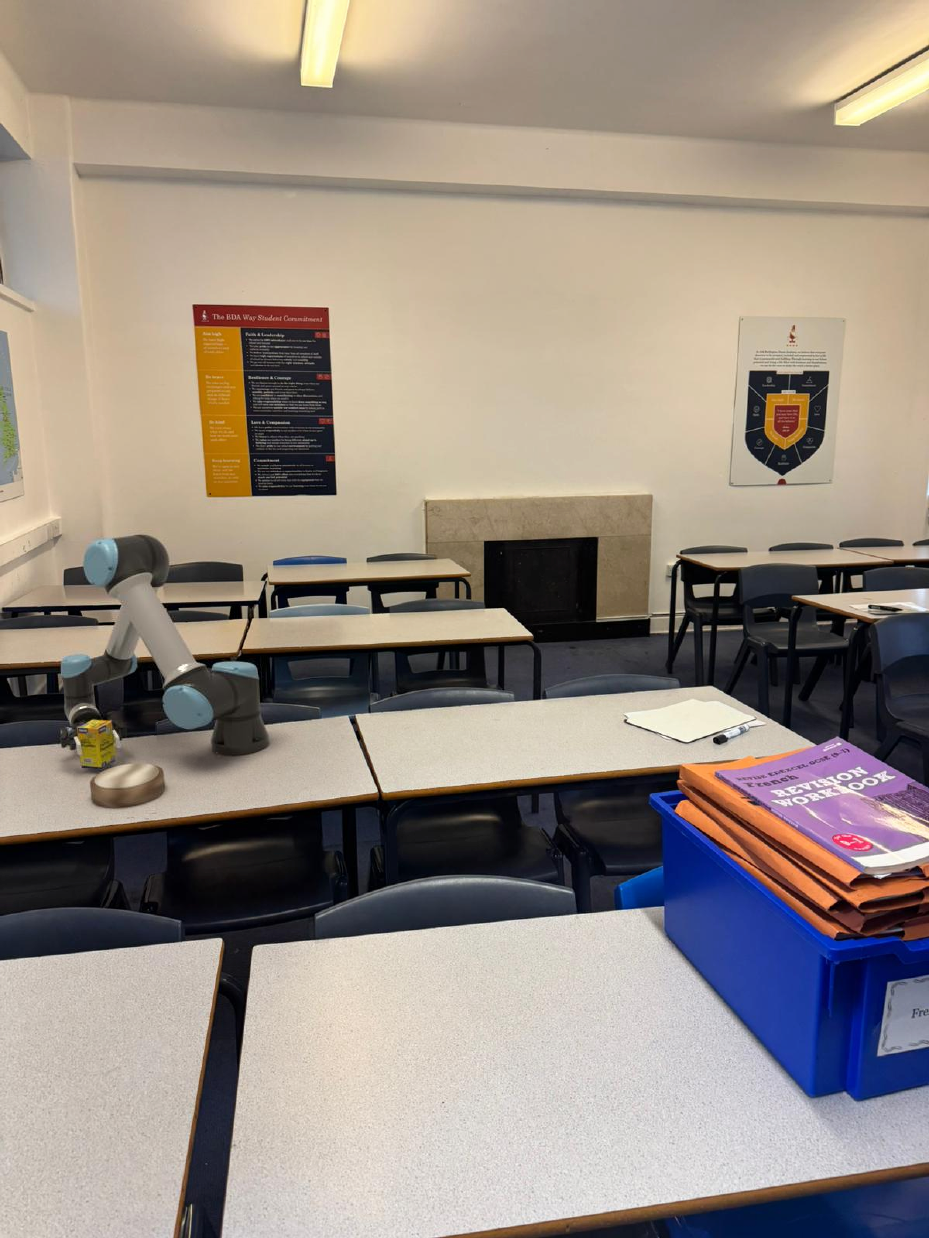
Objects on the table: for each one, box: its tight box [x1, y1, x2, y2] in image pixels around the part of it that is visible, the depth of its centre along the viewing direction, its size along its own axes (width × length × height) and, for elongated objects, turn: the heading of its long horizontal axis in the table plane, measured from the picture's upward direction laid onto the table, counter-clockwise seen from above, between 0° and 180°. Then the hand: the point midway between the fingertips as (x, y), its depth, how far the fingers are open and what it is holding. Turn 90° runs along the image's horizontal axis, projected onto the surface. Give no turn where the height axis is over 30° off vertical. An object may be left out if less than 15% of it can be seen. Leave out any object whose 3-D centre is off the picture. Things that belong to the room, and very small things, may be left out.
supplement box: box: [77, 720, 116, 771], centre depth 203 cm, size 6×6×11 cm
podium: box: [89, 763, 166, 809], centre depth 190 cm, size 16×16×4 cm
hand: (99, 746), depth 199 cm, fingers closed on supplement box, 8 cm apart
